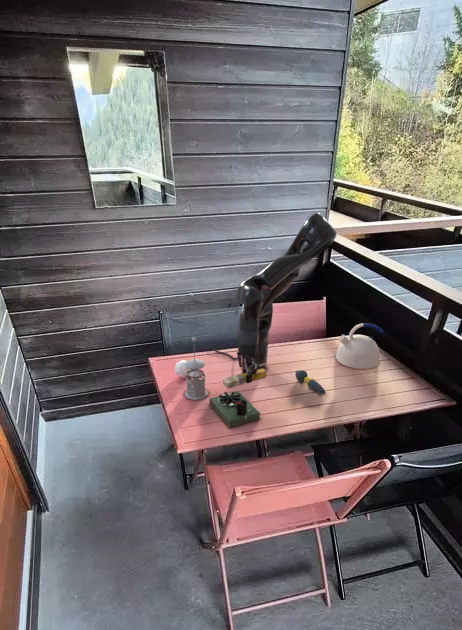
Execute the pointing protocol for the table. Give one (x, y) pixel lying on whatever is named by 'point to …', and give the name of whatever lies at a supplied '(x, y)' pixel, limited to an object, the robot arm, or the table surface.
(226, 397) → the burner
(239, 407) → the stove knob
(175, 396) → the table surface
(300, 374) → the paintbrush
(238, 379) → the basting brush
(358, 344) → the kettle
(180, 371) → the ball
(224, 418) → the stove
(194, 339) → the french press
